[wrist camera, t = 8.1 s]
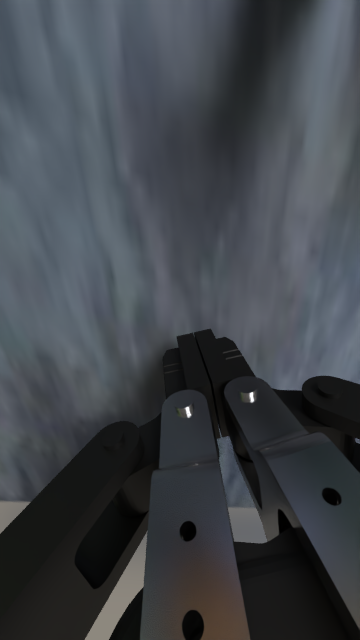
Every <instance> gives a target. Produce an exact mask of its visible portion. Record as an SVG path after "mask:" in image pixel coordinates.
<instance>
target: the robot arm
mask: <svg viewBox="0 0 360 640" xmlns="http://www.w3.org/2000/svg"><path fill="white" fill-rule="evenodd" d="M194 336H195V337H194ZM177 341H178V346H179V348H175V349H170V350H167V351H166V353H165V355H164V357H163V368H164V380H165V392H166V400H165V402H164V403H163V406H162V412H161V413H160V414H159V415H158V416H157V417H156V418H155V419H154V420H152V421H150V422H149V423H147V424H145V425H143V426H141V427H139V428H137V427H136V425H134V424H133V423H131V422H127V421H120V422H116V423H113V424H110V425H108V426H107V427H105V428H103V429H102V430H101V431H100V432H99V433H98V434H97V435H96V436H95V437H94V438H93V439H92V440H91V441H90V442H89V443H88V444H87V445H86V446H85V447H84V448H83V449H82V450H81V451H80V452H79V453H78V454H77V455H76V456H75V457H74V458H73V459H72V460H71V461H70V462H69V464H68V465H67V466H66V467H65V468H64V469H63V470H62V471H61V472H60V473H59V474H58V475H57V476H56V477H55V478H54V479H53V480H52V481H51V482H50V483H49V484H48V485H47V486H46V487H45V488H44V489H43V490H42V491H41V492H40V493H39V494H38V495H37V496H36V498H35V499H34V500H33V501H32V502H31V503H30V504H29V505H28V506H27V507H26V508H25V509H24V510H23V511H22V512H21V513H20V514H19V515H18V516H17V517H16V518H15V519H14V520H13V521H12V522H11V523H10V524H9V525H8V527H6V528H5V530H4V531H3V532H2V533H1V534H0V640H84V639H85V638H86V636H87V634H88V633H89V631H90V629H91V627H92V626H93V624H94V622H95V620H96V619H97V617H98V615H99V613H100V612H101V610H102V608H103V606H104V605H105V603H106V601H107V600H108V598H109V596H110V594H111V593H112V591H113V589H114V587H115V586H116V584H117V582H118V581H119V579H120V577H121V575H122V574H123V572H124V570H125V569H126V567H127V565H128V563H129V562H130V559H131V558H132V556H133V555H134V553H135V551H136V549H137V548H138V546H139V544H140V543H141V541H142V539H143V537H144V536H145V534H146V532H147V530H148V533H147V547H146V562H145V576H144V587H143V588H142V589H141V590H140V592H139V593H138V594H137V595H136V596H135V598H134V599H133V600H132V602H131V603H130V604H129V605H128V607H127V609H126V610H125V612H124V613H123V615H122V617H121V618H120V620H119V622H118V623H117V625H116V627H115V629H114V631H113V633H112V635H111V637H110V639H109V640H360V444H358V443H356V442H355V438H358V439H360V384H356V383H353V382H350V381H347V380H343V379H340V378H336V377H331V376H316V377H312V378H310V379H308V380H306V381H305V382H304V384H303V385H302V391H297V390H277V389H273V388H271V387H270V386H269V384H268V383H267V382H265V381H264V380H262V379H260V378H257V377H256V376H255V375H254V373H253V372H252V370H251V368H250V367H249V365H248V364H247V362H246V360H245V359H244V357H243V356H242V354H241V352H240V351H239V350H238V348H237V346H236V344H235V343H234V342H233V341H232V340H230V339H228V338H226V337H223V338H218V339H216V338H215V336H214V334H213V332H212V330H211V329H207V330H202V331H198V332H194V335H193V333H190V334H185V335H181V336H177ZM218 425H219V427H218ZM219 428H220V432H221V435H222V437H226V436H229V437H230V439H231V442H232V445H233V452H234V457H235V460H236V462H237V464H238V467H239V469H240V471H241V474H242V476H243V478H244V481H245V483H246V485H247V488H248V490H249V492H250V495H251V497H252V499H253V502H254V504H255V506H256V509H257V511H258V513H259V516H260V519H261V521H262V524H263V528H264V531H265V535H266V538H267V541H268V542H266V543H263V544H258V543H245V542H234V538H233V533H232V528H231V523H230V517H229V512H228V507H227V501H226V496H225V491H224V485H223V480H222V475H221V469H220V464H219V448H218V443H217V439H218V438H220V433H219Z"/></svg>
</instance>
